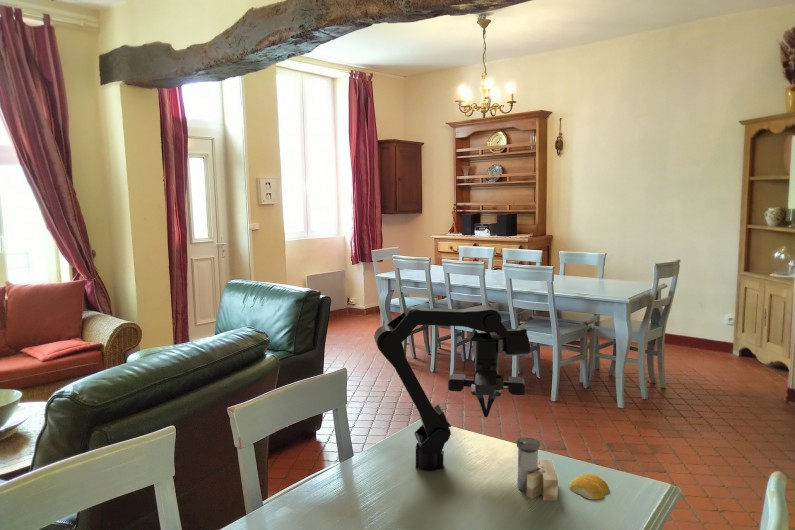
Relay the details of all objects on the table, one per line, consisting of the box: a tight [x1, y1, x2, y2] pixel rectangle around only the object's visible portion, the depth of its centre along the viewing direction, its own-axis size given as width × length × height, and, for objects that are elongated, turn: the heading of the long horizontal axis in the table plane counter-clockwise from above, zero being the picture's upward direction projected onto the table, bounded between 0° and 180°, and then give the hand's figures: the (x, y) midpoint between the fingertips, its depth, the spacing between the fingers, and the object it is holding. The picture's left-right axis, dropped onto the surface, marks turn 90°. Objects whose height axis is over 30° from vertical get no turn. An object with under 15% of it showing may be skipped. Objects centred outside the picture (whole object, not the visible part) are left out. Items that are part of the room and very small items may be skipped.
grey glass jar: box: [516, 437, 541, 493], centre depth 131 cm, size 5×5×11 cm
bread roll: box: [568, 473, 610, 500], centre depth 132 cm, size 8×9×4 cm
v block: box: [526, 458, 559, 502], centre depth 131 cm, size 6×10×5 cm, turn 172°
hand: (486, 416), depth 144 cm, fingers closed
